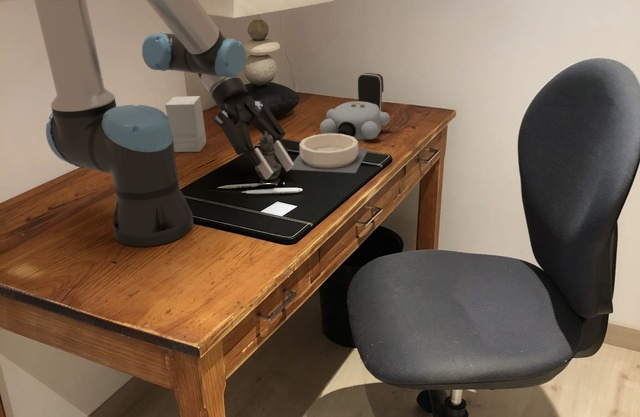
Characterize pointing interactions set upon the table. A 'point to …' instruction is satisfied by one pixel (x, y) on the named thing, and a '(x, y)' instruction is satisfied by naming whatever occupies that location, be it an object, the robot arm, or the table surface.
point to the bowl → (329, 150)
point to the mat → (349, 168)
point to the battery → (370, 88)
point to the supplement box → (186, 123)
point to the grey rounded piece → (355, 120)
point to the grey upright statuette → (269, 159)
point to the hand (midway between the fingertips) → (280, 171)
